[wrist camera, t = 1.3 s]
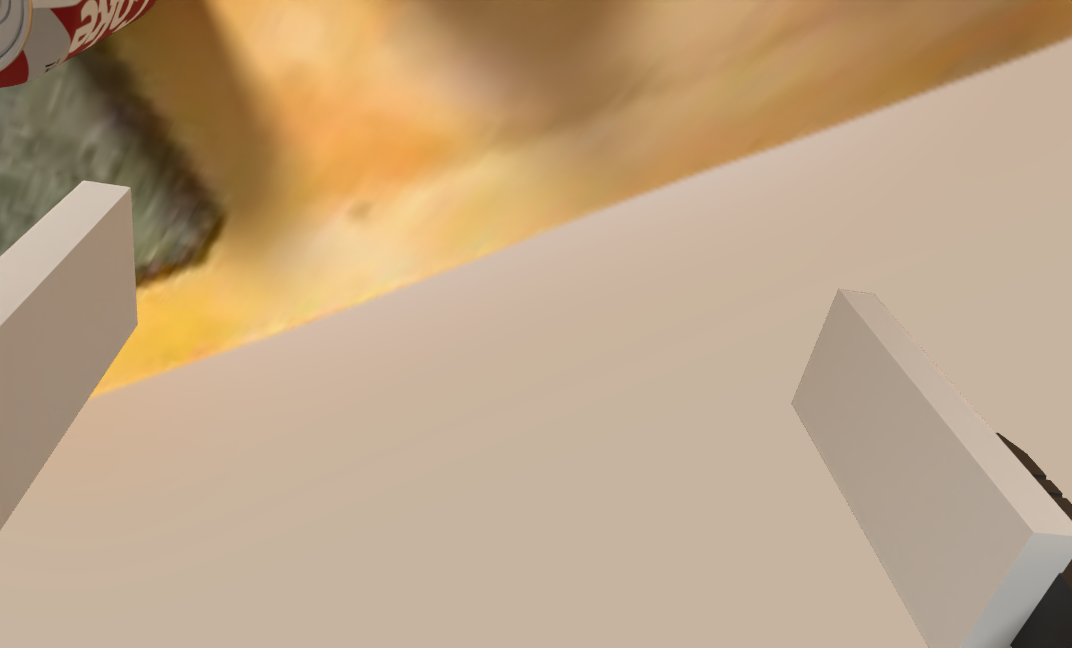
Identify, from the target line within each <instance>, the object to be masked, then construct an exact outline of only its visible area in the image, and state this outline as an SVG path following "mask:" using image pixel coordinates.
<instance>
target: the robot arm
mask: <svg viewBox="0 0 1072 648" xmlns="http://www.w3.org/2000/svg"><path fill="white" fill-rule="evenodd" d="M137 325H138V324H137V304H136V284H135V264H134V244H133V224H132V204H131V187H124V186H117V185H110V184H103V183H96V182H89V181H82V182H81V183H80V184H79V185H78V186H77V187H76V188H75V189H74V190H73V191H71V192H70V193H69V194H68V195H67V196H66V197H65V198H64V199H63V200H62V201H60V202H59V203H58V204H57V205H56V206H55V207H54V208H53V209H52V210H51V211H50V212H48V213H47V214H46V215H45V216H44V217H43V218H42V219H41V220H40V221H39V222H38V223H36V224H35V225H34V226H33V227H32V228H31V229H30V230H29V231H28V232H27V233H26V234H24V235H23V236H22V237H21V238H20V239H19V240H18V241H17V242H16V243H15V244H14V245H12V246H11V247H10V248H9V249H8V250H7V251H6V252H5V253H4V254H3V255H2V256H0V530H1V528H2V527H3V525H4V524H5V522H6V521H7V520H8V518H9V517H10V515H11V513H12V512H13V511H14V509H15V507H16V506H17V504H18V503H19V502H20V500H21V499H22V497H23V496H24V494H25V492H26V491H27V489H28V488H29V486H30V485H31V483H32V482H33V481H34V479H35V478H36V476H37V475H38V473H39V472H40V470H41V469H42V467H43V466H44V464H45V462H46V461H47V460H48V458H49V456H50V455H51V454H52V452H53V451H54V449H55V448H56V446H57V444H58V443H59V442H60V440H61V439H62V437H63V436H64V434H65V433H66V431H67V430H68V428H69V427H70V425H71V424H72V422H73V421H74V419H75V418H76V416H77V414H78V413H79V412H80V410H81V409H82V407H83V405H84V404H85V403H86V401H87V400H88V398H89V397H90V395H91V394H92V392H93V391H94V389H95V388H96V386H97V385H98V383H99V382H100V380H101V379H102V377H103V376H104V374H105V373H106V371H107V370H108V368H109V367H110V365H111V364H112V362H113V361H114V359H115V358H116V356H117V355H118V353H119V352H120V350H121V349H122V347H123V346H124V344H125V343H126V341H127V340H128V338H129V337H130V335H131V334H132V332H133V331H134V329H135V328H136V326H137ZM792 405H793V407H794V408H795V410H796V412H797V414H798V415H799V417H800V419H801V421H802V423H803V425H804V426H805V428H806V430H807V432H808V433H809V435H810V437H811V439H812V441H813V442H814V444H815V446H816V448H817V449H818V451H819V453H820V455H821V456H822V458H823V460H824V462H825V464H826V465H827V467H828V469H829V471H830V472H831V474H832V476H833V478H834V480H835V481H836V483H837V485H838V487H839V489H840V490H841V492H842V494H843V496H844V497H845V499H846V501H847V503H848V505H849V506H850V508H851V510H852V512H853V514H854V515H855V517H856V519H857V520H858V523H859V524H860V526H861V528H862V530H863V531H864V533H865V535H866V537H867V539H868V540H869V542H870V544H871V546H872V547H873V549H874V551H875V553H876V555H877V556H878V558H879V560H880V562H881V563H882V565H883V567H884V569H885V571H886V572H887V574H888V576H889V578H890V580H891V581H892V583H893V585H894V587H895V588H896V590H897V592H898V594H899V596H900V597H901V599H902V601H903V603H904V604H905V606H906V608H907V610H908V611H909V613H910V615H911V617H912V619H913V621H914V622H915V624H916V626H917V628H918V629H919V631H920V633H921V635H922V637H923V638H924V640H925V642H926V644H927V645H928V647H929V648H1011V647H1012V648H1072V504H1071V503H1070V502H1069V501H1068V499H1066V498H1062V493H1061V491H1060V490H1059V489H1058V488H1057V487H1056V486H1055V485H1054V484H1053V483H1052V481H1051V480H1046V475H1045V474H1044V472H1043V471H1042V470H1041V469H1040V468H1039V467H1038V466H1037V465H1036V463H1035V462H1034V461H1033V460H1032V459H1031V458H1030V457H1029V456H1028V454H1026V453H1025V452H1024V451H1022V450H1021V449H1020V448H1018V447H1017V446H1016V445H1014V444H1013V443H1011V442H1010V441H1009V440H1007V439H1006V438H1005V437H1003V436H1002V435H1000V434H999V433H995V432H994V431H993V430H992V429H991V427H990V426H989V425H988V424H987V423H986V422H985V421H984V420H983V418H982V417H981V416H980V415H979V414H978V413H977V411H976V410H975V409H974V408H973V407H972V406H971V404H970V403H969V402H968V401H967V400H966V399H965V398H964V396H963V395H962V394H961V393H960V392H959V391H958V390H957V388H956V387H955V386H954V385H953V384H952V383H951V381H950V380H949V379H948V378H947V377H946V376H945V375H944V373H942V371H941V370H940V369H939V368H938V367H937V365H936V364H935V363H934V362H933V361H932V360H931V359H930V357H929V356H928V355H927V354H926V353H925V352H924V350H923V349H922V348H921V347H920V346H919V345H918V344H917V342H916V341H915V340H914V339H913V338H912V337H911V336H910V334H909V333H908V332H907V331H906V330H905V329H904V327H903V326H902V325H901V324H900V323H899V322H898V321H897V320H896V318H895V317H894V316H893V315H892V314H891V313H890V311H889V310H888V309H887V308H886V307H885V306H884V305H883V303H882V302H881V301H880V300H879V299H878V298H877V297H876V295H875V294H870V293H863V292H855V291H849V290H842V289H838V291H837V294H836V296H835V299H834V301H833V303H832V306H831V308H830V311H829V313H828V316H827V318H826V321H825V323H824V325H823V328H822V330H821V333H820V335H819V338H818V340H817V342H816V345H815V347H814V350H813V352H812V355H811V357H810V359H809V362H808V364H807V367H806V369H805V372H804V374H803V376H802V379H801V381H800V384H799V386H798V389H797V391H796V394H795V396H794V399H793V401H792Z"/></svg>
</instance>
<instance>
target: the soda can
mask: <svg viewBox="0 0 1072 648" xmlns="http://www.w3.org/2000/svg"><path fill="white" fill-rule="evenodd" d="M156 1H157V0H0V88H1V87H9V86H14V85H18V84H22V83H25V82H28V81H30V80H32V79H34V78H36V77H39V76H40V75H42V74H44V73H46V72H47V71H49V70H51V69H52V68H54V67H56V66H58V65H59V64H61V63H63V62H64V61H66V60H68V59H70V58H71V57H73V56H75V55H76V54H78V53H80V52H82V51H83V50H85V49H87V48H89V47H90V46H92V45H94V44H95V43H97V42H99V41H101V40H102V39H104V38H106V37H107V36H109V35H111V34H113V33H114V32H116V31H118V30H119V29H121V28H123V27H125V26H126V25H128V24H130V23H131V22H133V21H135V20H137V19H138V18H140V17H141V16H143V15H144V14H145V13H146V12H147V11H149V9H150V8H151V7H152V6H153V5H154V4H155V2H156Z"/></svg>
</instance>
